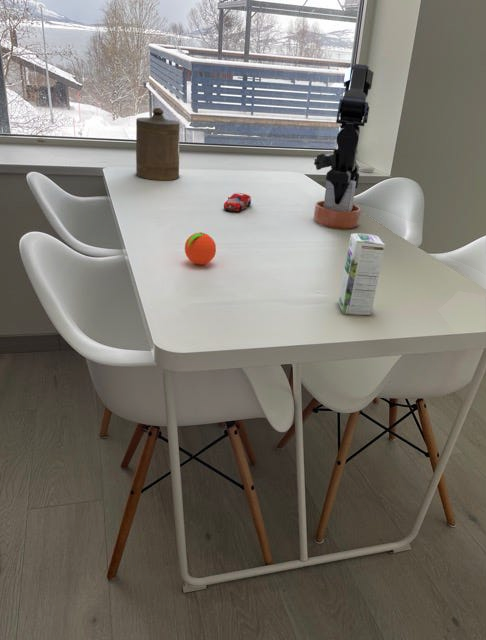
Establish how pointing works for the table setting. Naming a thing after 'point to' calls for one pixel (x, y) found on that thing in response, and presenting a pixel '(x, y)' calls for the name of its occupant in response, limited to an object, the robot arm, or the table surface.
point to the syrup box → (361, 274)
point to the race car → (237, 202)
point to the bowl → (336, 217)
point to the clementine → (200, 248)
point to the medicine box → (345, 202)
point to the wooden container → (157, 147)
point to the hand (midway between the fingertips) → (338, 202)
